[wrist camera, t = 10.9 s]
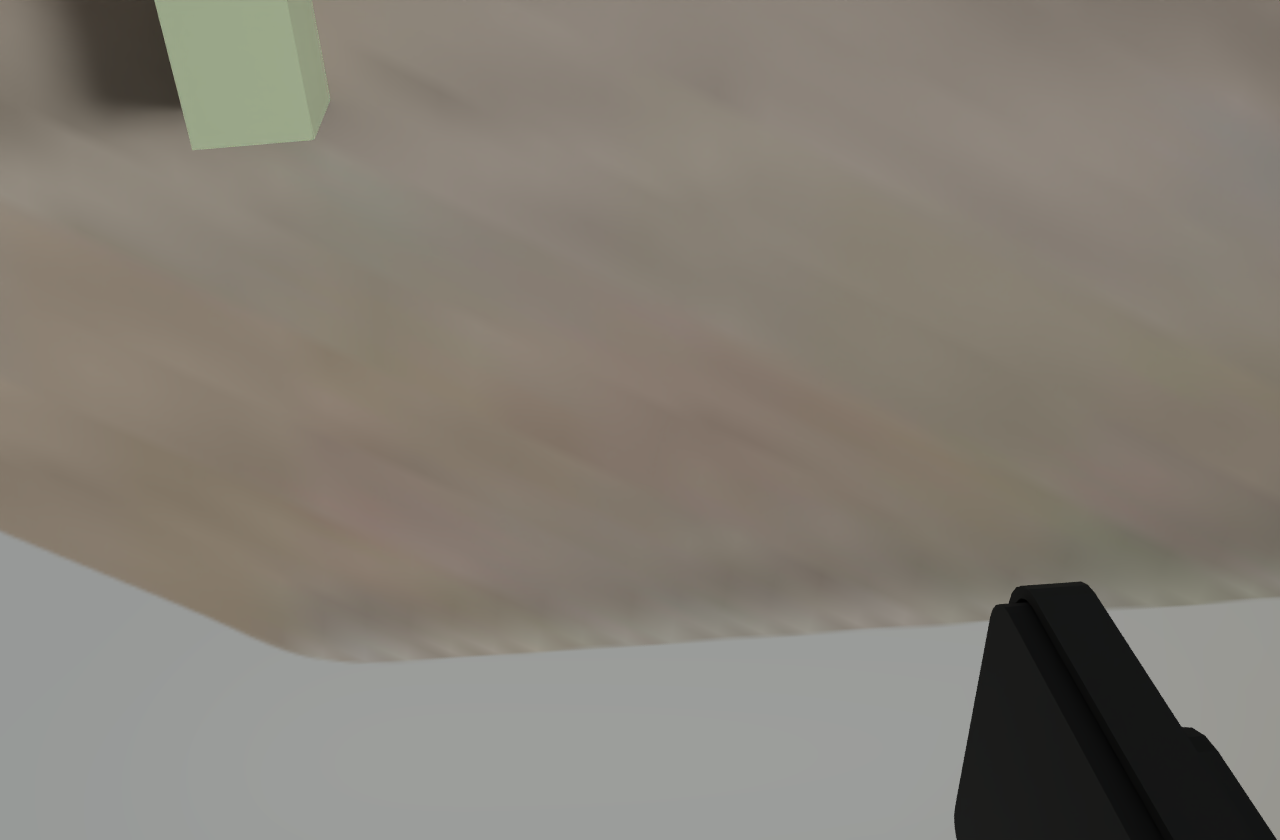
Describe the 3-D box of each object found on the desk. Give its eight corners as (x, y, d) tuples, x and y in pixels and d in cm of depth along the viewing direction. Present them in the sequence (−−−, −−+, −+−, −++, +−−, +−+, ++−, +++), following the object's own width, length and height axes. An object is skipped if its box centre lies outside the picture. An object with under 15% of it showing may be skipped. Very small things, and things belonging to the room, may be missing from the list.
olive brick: (289, -122, 32) (265, -104, 28) (331, 98, 35) (314, 140, 32) (168, -114, 32) (130, -94, 28) (221, 108, 35) (192, 150, 31)
